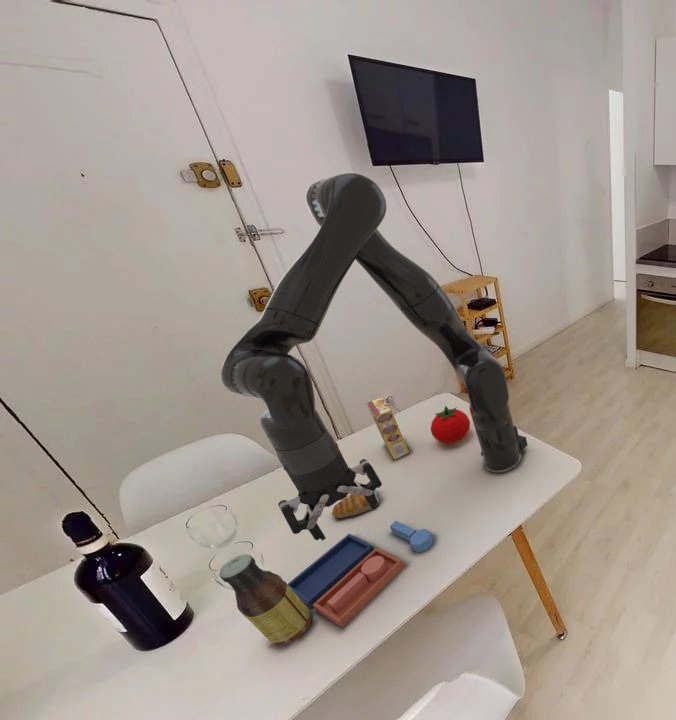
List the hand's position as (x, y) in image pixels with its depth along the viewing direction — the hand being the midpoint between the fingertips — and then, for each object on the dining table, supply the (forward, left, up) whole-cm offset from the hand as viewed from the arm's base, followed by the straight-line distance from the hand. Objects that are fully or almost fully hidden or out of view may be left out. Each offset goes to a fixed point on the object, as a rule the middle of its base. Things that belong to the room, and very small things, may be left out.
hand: (348, 521), depth 77 cm
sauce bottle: (+14, -4, -15) cm, 21 cm away
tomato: (-38, -17, -15) cm, 44 cm away
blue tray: (+4, -8, -15) cm, 18 cm away
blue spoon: (-8, +1, -15) cm, 17 cm away
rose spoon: (+3, +1, -15) cm, 15 cm away
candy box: (-28, -29, -15) cm, 43 cm away
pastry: (-10, -19, -15) cm, 27 cm away
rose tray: (+4, +1, -15) cm, 16 cm away
